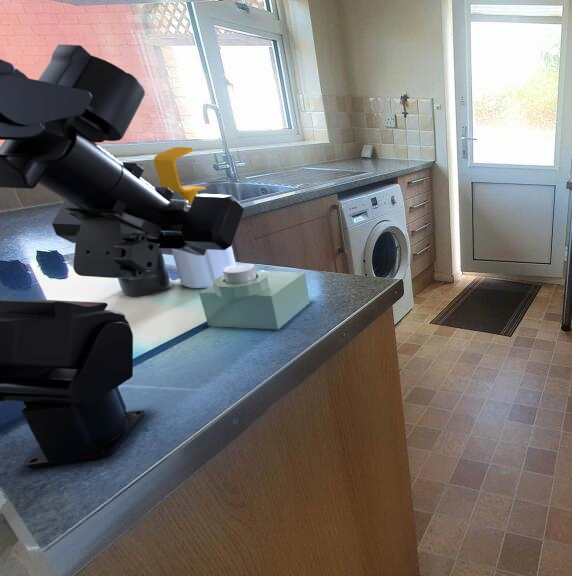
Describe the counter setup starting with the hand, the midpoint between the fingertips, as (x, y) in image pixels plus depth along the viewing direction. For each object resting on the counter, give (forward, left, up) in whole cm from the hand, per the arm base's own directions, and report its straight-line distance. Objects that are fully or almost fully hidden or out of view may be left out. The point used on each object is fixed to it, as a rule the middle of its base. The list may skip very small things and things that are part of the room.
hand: (202, 252), depth 54 cm
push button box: (+8, -3, -13) cm, 16 cm away
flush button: (+6, -2, -6) cm, 9 cm away
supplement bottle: (+23, +20, -14) cm, 33 cm away
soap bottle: (+26, +11, -14) cm, 31 cm away
